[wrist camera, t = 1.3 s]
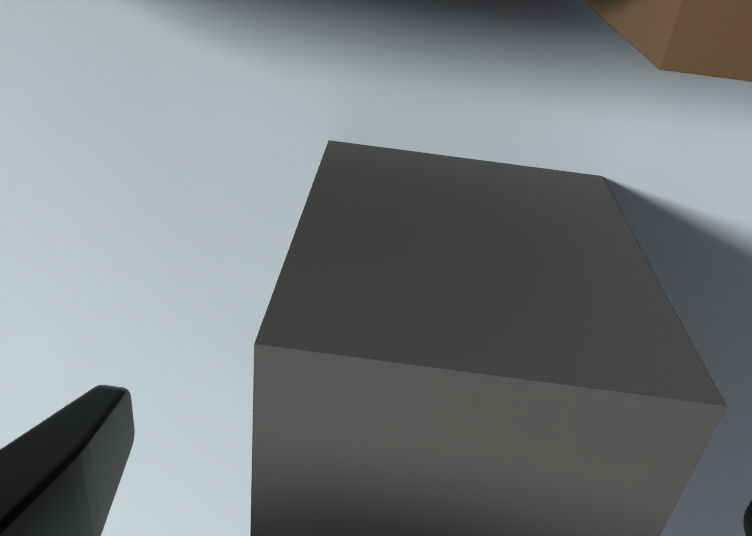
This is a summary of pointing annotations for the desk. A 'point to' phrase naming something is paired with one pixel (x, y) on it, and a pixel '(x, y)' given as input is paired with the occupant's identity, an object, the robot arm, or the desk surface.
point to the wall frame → (686, 33)
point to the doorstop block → (470, 359)
